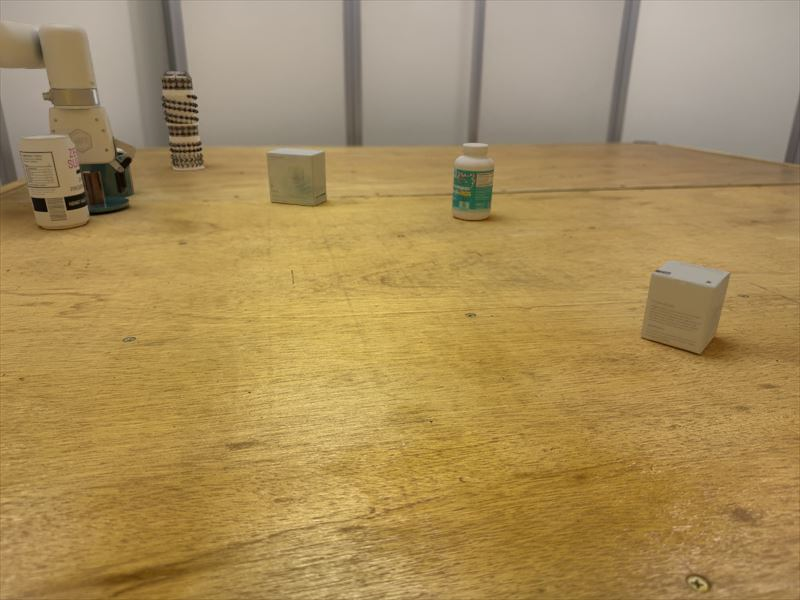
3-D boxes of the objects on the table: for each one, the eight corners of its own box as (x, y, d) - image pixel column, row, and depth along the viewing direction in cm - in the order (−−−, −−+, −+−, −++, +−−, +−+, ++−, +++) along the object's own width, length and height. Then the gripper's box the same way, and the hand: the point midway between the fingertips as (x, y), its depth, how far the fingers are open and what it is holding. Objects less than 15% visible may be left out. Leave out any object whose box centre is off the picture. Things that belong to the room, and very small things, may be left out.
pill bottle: (444, 214, 108) (447, 142, 102) (475, 210, 111) (480, 141, 106) (465, 223, 101) (470, 147, 96) (498, 219, 105) (504, 145, 99)
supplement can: (31, 223, 97) (9, 135, 92) (82, 216, 103) (64, 132, 97) (44, 232, 92) (21, 140, 86) (97, 224, 97) (79, 136, 92)
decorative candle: (198, 164, 160) (186, 71, 150) (211, 168, 153) (199, 71, 144) (166, 167, 154) (151, 71, 145) (178, 171, 148) (164, 71, 138)
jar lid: (57, 217, 102) (48, 178, 99) (74, 203, 112) (66, 167, 109) (124, 214, 105) (117, 175, 102) (134, 201, 115) (128, 166, 112)
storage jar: (75, 200, 115) (66, 158, 111) (87, 190, 124) (79, 152, 121) (129, 198, 117) (122, 157, 114) (137, 188, 126) (131, 151, 123)
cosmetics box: (269, 202, 115) (265, 151, 111) (284, 196, 121) (281, 147, 117) (314, 206, 112) (311, 154, 108) (328, 200, 118) (326, 150, 114)
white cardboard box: (716, 336, 59) (733, 271, 56) (699, 356, 55) (717, 286, 52) (657, 320, 62) (670, 258, 60) (637, 337, 58) (651, 271, 55)
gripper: (15, 100, 95) (38, 198, 102) (123, 100, 99) (139, 195, 106) (29, 98, 102) (51, 190, 108) (131, 98, 106) (145, 187, 113)
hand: (94, 192), depth 107 cm, fingers open, 9 cm apart
